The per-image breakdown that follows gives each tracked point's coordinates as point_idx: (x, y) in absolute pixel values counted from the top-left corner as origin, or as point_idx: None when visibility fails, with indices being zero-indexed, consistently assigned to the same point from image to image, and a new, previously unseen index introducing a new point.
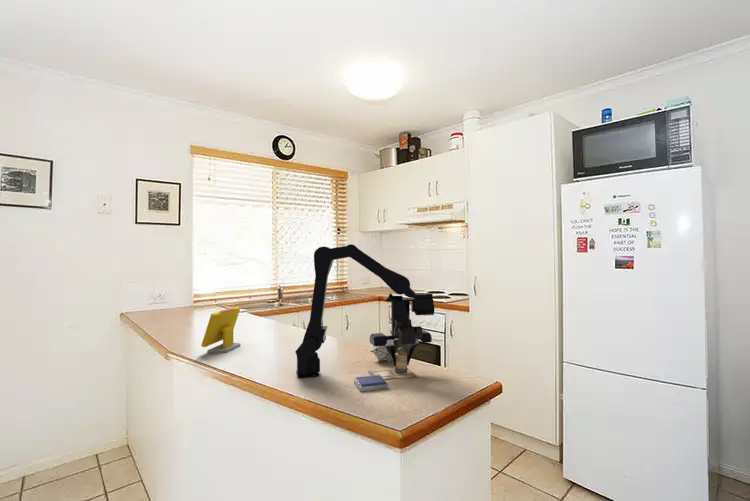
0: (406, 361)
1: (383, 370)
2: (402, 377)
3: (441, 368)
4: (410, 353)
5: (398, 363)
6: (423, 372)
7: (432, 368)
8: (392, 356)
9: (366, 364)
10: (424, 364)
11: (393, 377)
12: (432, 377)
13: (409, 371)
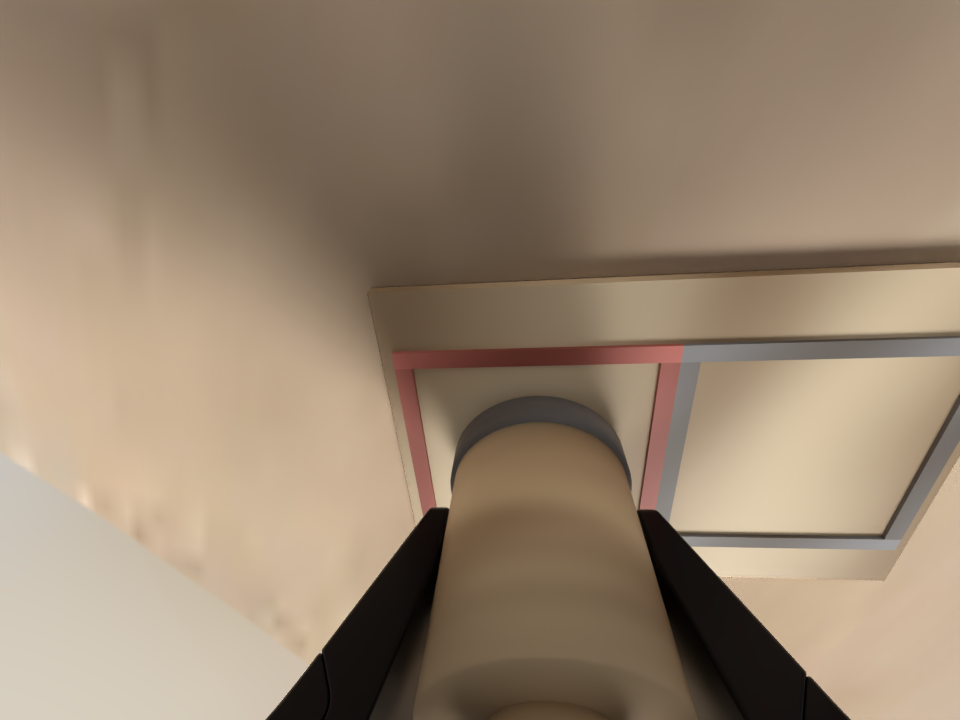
0: (465, 534)
1: (717, 541)
2: (591, 280)
3: (58, 467)
4: (333, 700)
5: (623, 518)
6: (264, 405)
7: (156, 489)
8: (808, 685)
9: None
10: (234, 590)
11: (739, 286)
12: (150, 187)
13: (428, 449)
